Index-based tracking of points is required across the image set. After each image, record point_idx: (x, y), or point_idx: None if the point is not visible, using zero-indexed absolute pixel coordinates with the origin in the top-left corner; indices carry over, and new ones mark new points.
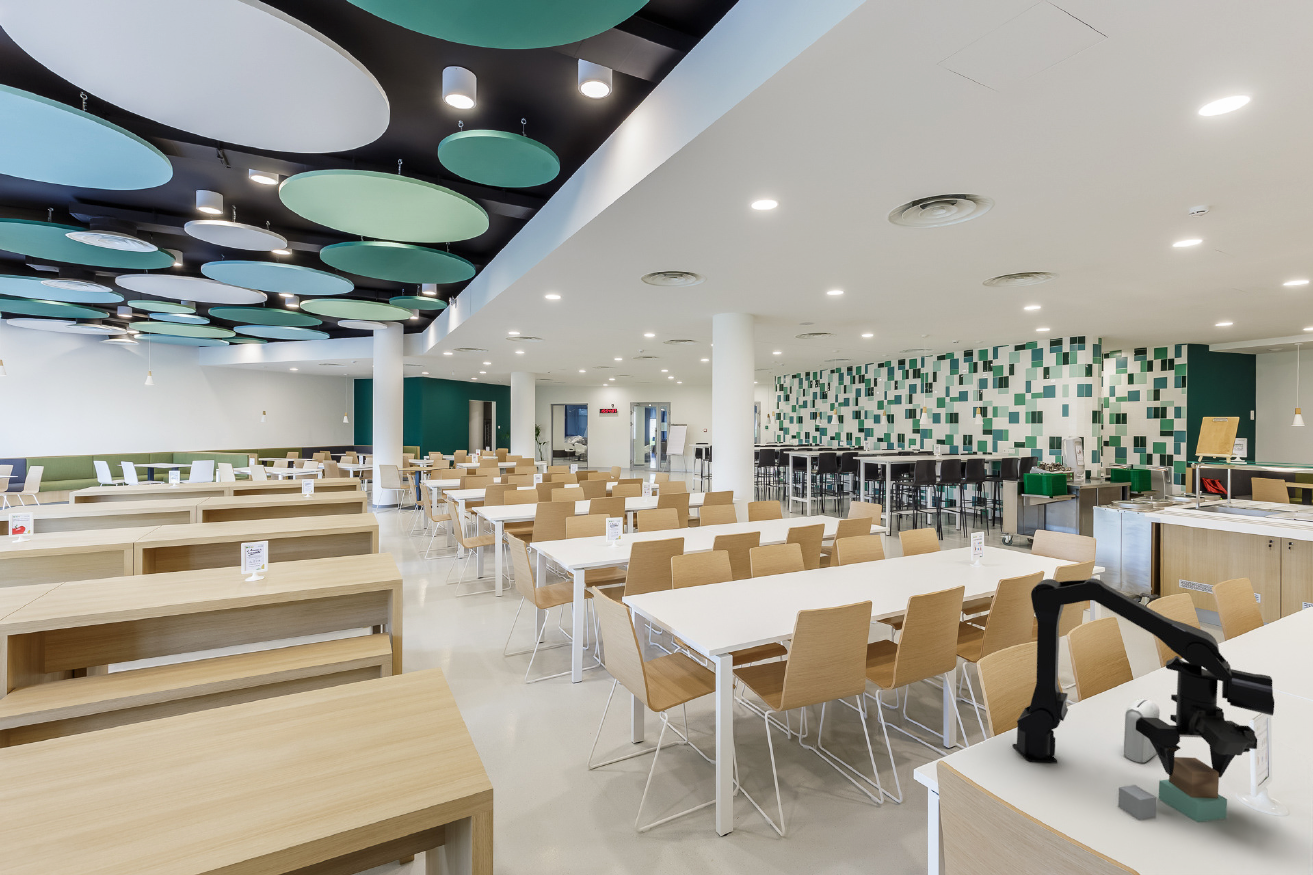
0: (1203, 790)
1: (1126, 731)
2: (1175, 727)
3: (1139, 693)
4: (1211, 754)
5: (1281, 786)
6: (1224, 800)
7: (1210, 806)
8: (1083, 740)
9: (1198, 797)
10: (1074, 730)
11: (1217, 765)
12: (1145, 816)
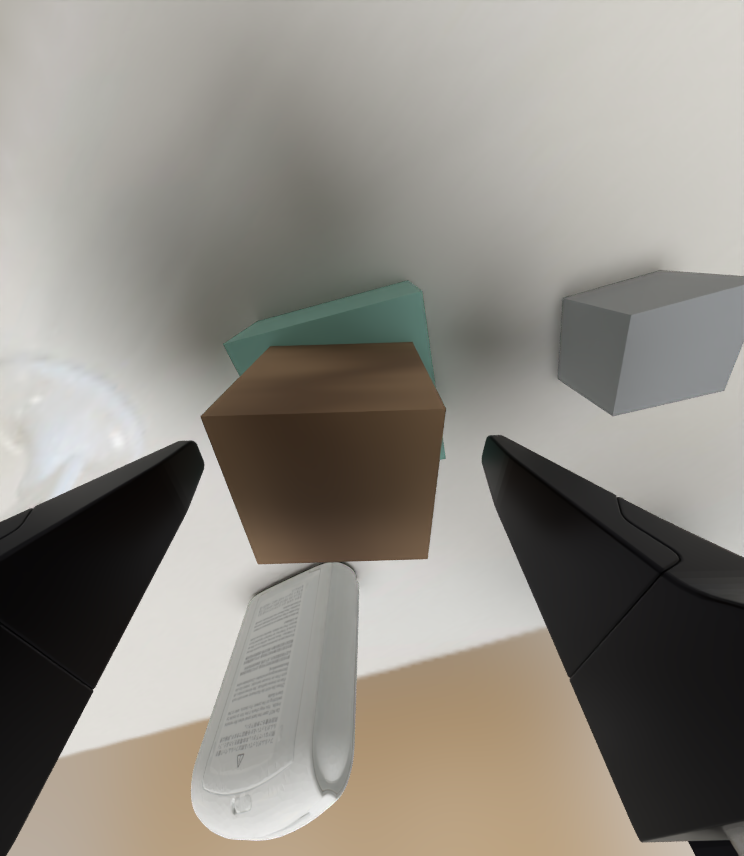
0: (347, 355)
1: (353, 663)
2: None
3: (161, 717)
4: (139, 591)
5: None
6: (242, 337)
7: (334, 309)
8: (409, 615)
9: (373, 343)
10: (396, 638)
11: (154, 503)
12: (634, 281)
